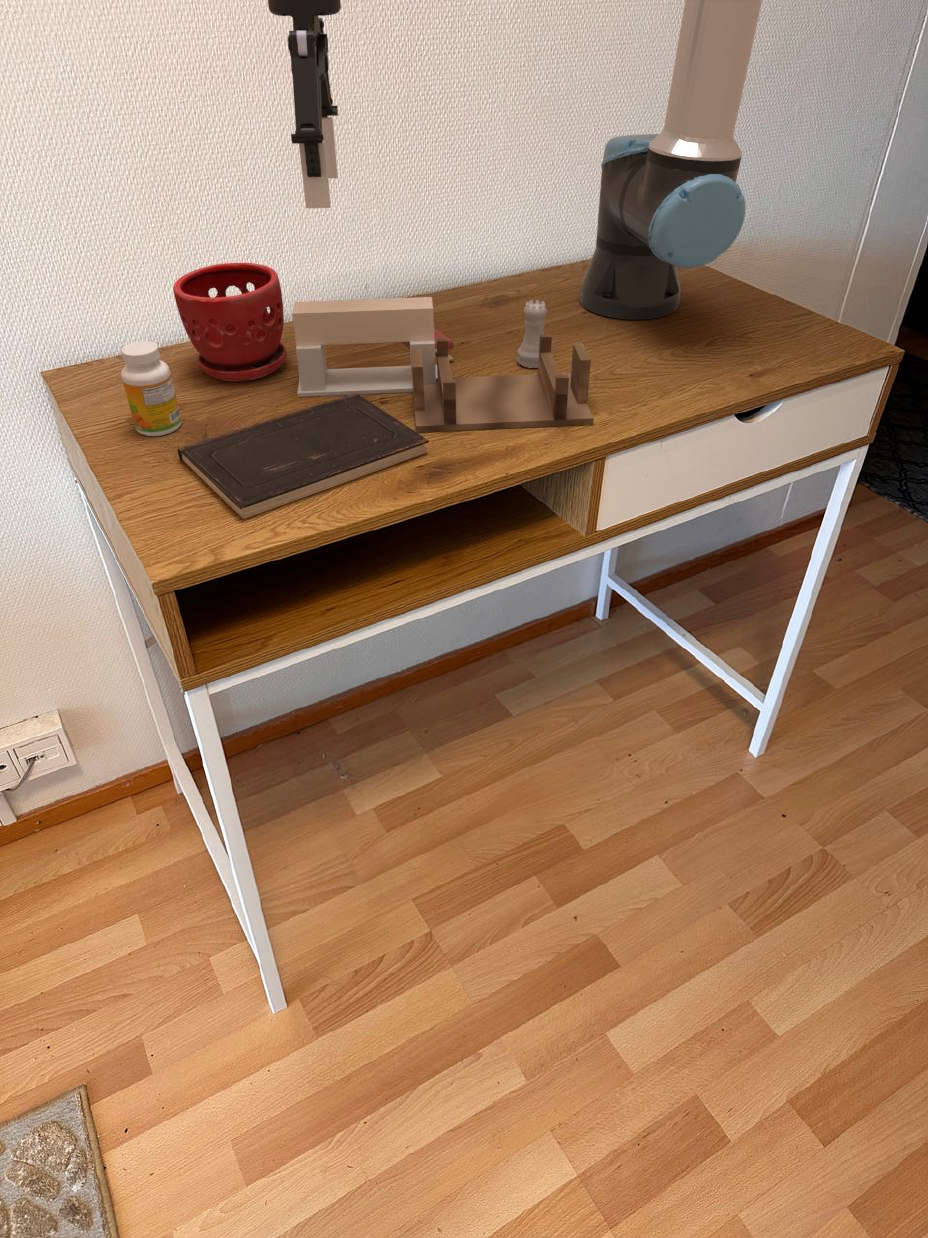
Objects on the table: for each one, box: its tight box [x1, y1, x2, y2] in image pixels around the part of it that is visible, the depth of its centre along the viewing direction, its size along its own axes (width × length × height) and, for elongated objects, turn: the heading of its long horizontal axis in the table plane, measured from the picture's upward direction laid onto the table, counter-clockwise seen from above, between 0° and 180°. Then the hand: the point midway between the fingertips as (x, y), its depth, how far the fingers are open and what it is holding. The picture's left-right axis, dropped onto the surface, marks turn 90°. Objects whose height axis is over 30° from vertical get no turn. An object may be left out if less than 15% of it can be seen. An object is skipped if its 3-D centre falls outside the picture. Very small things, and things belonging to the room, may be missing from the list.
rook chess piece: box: [516, 299, 549, 368], centre depth 116 cm, size 4×4×8 cm
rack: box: [411, 333, 595, 433], centre depth 107 cm, size 21×13×6 cm, turn 95°
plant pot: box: [172, 262, 287, 382], centre depth 114 cm, size 13×13×12 cm
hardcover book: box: [177, 393, 430, 520], centre depth 98 cm, size 16×23×2 cm
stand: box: [295, 341, 438, 398], centre depth 112 cm, size 18×7×6 cm, turn 95°
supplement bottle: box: [120, 340, 182, 437], centre depth 101 cm, size 5×5×10 cm
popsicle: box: [402, 327, 454, 362], centre depth 123 cm, size 5×2×15 cm
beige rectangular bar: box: [291, 296, 435, 346], centre depth 109 cm, size 17×4×4 cm, turn 95°
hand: (322, 191), depth 103 cm, fingers open, 13 cm apart
